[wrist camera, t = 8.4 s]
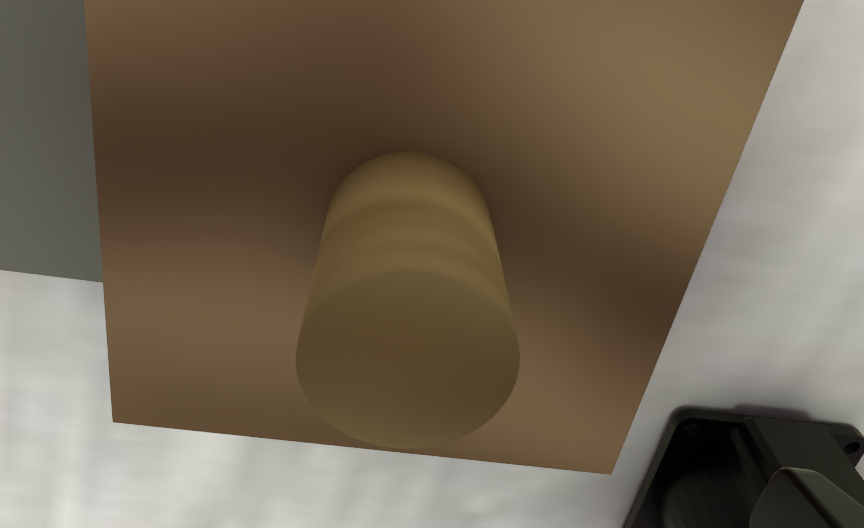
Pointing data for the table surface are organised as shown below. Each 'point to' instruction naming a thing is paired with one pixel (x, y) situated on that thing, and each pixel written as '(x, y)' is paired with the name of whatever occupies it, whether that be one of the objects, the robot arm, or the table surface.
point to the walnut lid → (412, 211)
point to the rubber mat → (47, 142)
